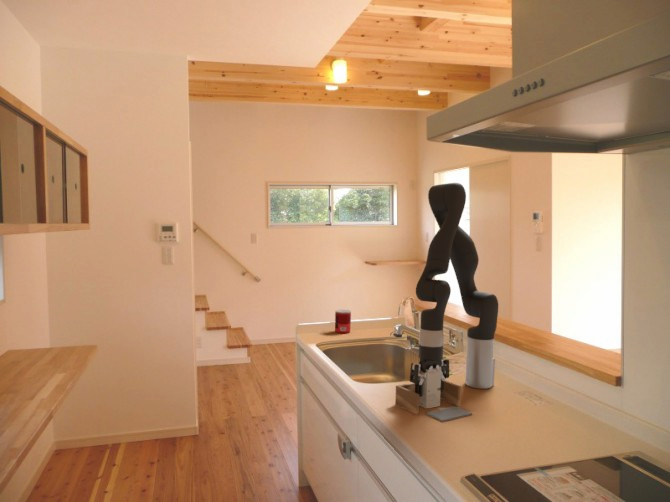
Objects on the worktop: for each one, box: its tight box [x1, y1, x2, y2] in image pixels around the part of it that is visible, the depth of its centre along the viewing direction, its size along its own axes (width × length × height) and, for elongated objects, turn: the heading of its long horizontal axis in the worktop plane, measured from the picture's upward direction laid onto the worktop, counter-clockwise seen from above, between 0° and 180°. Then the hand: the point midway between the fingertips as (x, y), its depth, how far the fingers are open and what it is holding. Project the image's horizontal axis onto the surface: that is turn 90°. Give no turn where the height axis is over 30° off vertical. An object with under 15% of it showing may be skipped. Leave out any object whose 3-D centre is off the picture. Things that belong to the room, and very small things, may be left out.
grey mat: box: [425, 405, 473, 423], centre depth 161 cm, size 12×7×1 cm, turn 122°
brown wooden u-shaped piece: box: [394, 379, 462, 416], centre depth 169 cm, size 18×10×6 cm, turn 122°
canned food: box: [334, 309, 352, 335], centre depth 272 cm, size 8×8×11 cm
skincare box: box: [419, 367, 441, 410], centre depth 168 cm, size 6×4×12 cm
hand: (429, 393), depth 168 cm, fingers open, 8 cm apart
